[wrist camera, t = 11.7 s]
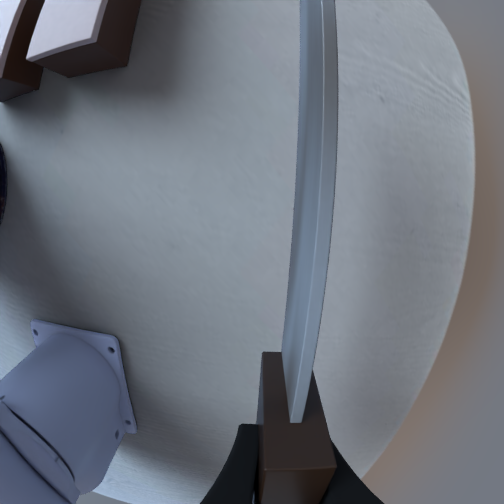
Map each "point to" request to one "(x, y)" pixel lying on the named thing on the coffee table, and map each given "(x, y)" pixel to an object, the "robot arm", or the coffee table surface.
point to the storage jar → (2, 183)
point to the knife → (304, 286)
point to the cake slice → (83, 35)
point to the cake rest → (18, 47)
